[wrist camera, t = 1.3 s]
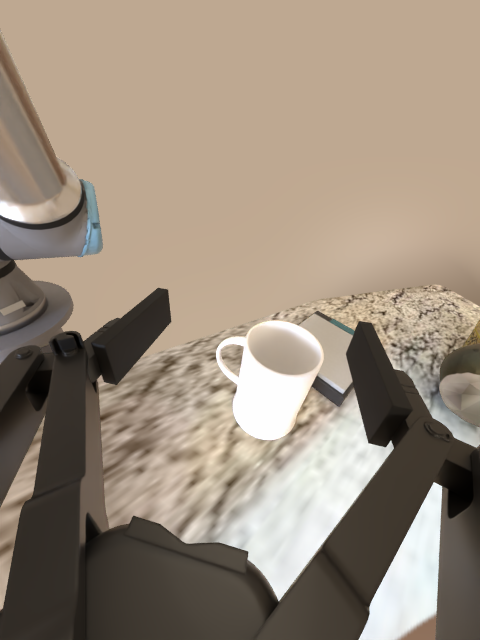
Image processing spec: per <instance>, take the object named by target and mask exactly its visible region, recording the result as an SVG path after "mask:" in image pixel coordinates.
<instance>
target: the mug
mask: <svg viewBox="0 0 480 640" xmlns="http://www.w3.org/2000/svg"><path fill="white" fill-rule="evenodd" d="M228 344H238V345H241V346H244V350H243V356H242V362H241V368H240V374H239V376H237V375H235V374H234V373H233V372H231V371H230V370H229V369H228V368H227V366H226V365H225V364H224V362H223V360H222V357H221V350H222V348H223V347H224V346H226V345H228ZM216 358H217V362H218V364H219V366H220V368H221V370H222V371H223V372H224V374H225V375H226V376H227V377H228V378H229V379H231V380H232V381H233V382H235V383H236V384H237V385H238V386H237V392H236V394H235V396H234V399H233V413H234V416H235V419H236V421H237V422H238V424H239V425H240V426H241V428H242V429H243V430H244V431H246V432H247V433H248V434H250V435H252V436H254V437H256V438H259V439H263V440H275V439H279V438H281V437H283V436H285V435H286V434H288V433H289V432H290V431H291V429H292V428H293V426H294V424H295V422H296V417H297V414H298V412H299V410H300V408H301V406H302V404H303V402H304V400H305V398H306V396H307V394H308V392H309V390H310V388H311V386H312V384H313V382H314V380H315V378H316V376H317V374H318V372H319V370H320V368H321V366H322V363H323V360H324V353H323V349H322V346H321V344H320V343H319V341H318V340H317V339H316V337H315V336H314V335H312V334H311V333H310V332H309V331H307V330H306V329H304V328H303V327H301V326H298V325H296V324H293V323H290V322H286V321H279V320H271V321H265V322H261V323H259V324H257V325H255V326H253V327H252V328H251V329H250V330H249V332H248V333H247V336H246V337H241V336H234V337H229V338H227V339H225V340H223V341H222V342H221V343H220V345H219V346H218V348H217V352H216Z"/></svg>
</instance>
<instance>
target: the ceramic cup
mask: <svg viewBox="0 0 480 640" xmlns="http://www.w3.org/2000/svg"><path fill="white" fill-rule="evenodd" d="M477 343H480V320H479V321H478V323H477V325H476V327H475V329H474V330H473V332H472V333H471V335H470V336H469V338H468V339H467V341H466V343H465V344H464V345H463V347H464V346H467V345H472V344H477Z"/></svg>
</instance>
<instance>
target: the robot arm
mask: <svg viewBox="0 0 480 640" xmlns="http://www.w3.org/2000/svg"><path fill="white" fill-rule="evenodd" d="M102 248H103V243H102V234H101V228H100V221H99V214H98V208H97V202H96V195H95V190H94V186H93V185H92V183H90V182H88V181H84V180H81V179H78V177H77V175H76V173H75V172H74V171H73V169H72V168H70V166H69V165H67V164H66V163H65V162H64V161H62V160H60V159H59V158H57V157H56V155H55V153H54V150H53V148H52V146H51V144H50V141H49V139H48V137H47V134H46V132H45V130H44V128H43V125H42V123H41V121H40V119H39V116H38V114H37V112H36V109H35V107H34V105H33V103H32V100H31V98H30V96H29V93H28V92H27V89H26V87H25V84H24V82H23V80H22V78H21V75H20V73H19V71H18V69H17V66H16V64H15V62H14V59H13V57H12V55H11V53H10V50H9V48H8V46H7V43H6V41H5V39H4V37H3V34H2V32H1V30H0V336H3V335H6V334H9V333H12V332H14V331H17V330H19V329H21V328H23V327H25V326H27V325H29V324H31V323H32V322H34V321H35V320H37V319H38V318H39V317H40V316H41V315H42V314H43V313H44V312H45V311H46V309H47V307H48V300H47V298H46V296H45V294H44V292H43V290H42V289H41V288H40V287H39V286H38V285H37V284H35V283H34V282H33V281H32V280H31V279H30V278H29V277H28V276H27V275H25V273H24V272H23V271H21V270H20V269H19V268H18V267H17V265H16V263H15V261H14V260H23V259H39V258H54V257H69V256H78V257H83V256H84V255H92V254H98V253H99V252H100V251H101V250H102ZM170 322H171V315H170V305H169V295H168V290H167V289H161V288H157V289H156V290H155V291H154V292H153V293H151V294H150V295H149V296H148V297H146V298H145V299H144V300H143V301H141V302H140V303H139V304H138V305H137V306H135V307H134V308H133V309H132V310H131V311H129V312H128V313H127V314H125V315H124V316H123V317H122V318H121V319H120V318H116V319H114V320H111V321H109V322H108V323H107V324H105V325H104V326H103V327H102V328H100V329H99V330H98V331H97V332H95V333H94V334H92V335H91V336H90V337H89V338H87V339H86V340H85V341H83V340H82V338H81V335H80V333H78V332H76V331H67V332H63V333H59V334H57V335H55V336H53V337H52V338H51V339H50V340H49V344H50V346H51V349H52V351H53V353H42V351H41V349H40V347H39V346H36V345H29V346H23V347H20V348H18V349H16V350H14V351H12V352H11V353H10V354H9V355H8V356H7V357H6V358H5V359H4V360H3V362H2V363H1V364H0V507H1V505H2V503H3V501H4V499H5V497H6V495H7V493H8V490H9V488H10V486H11V484H12V482H13V480H14V478H15V476H16V474H17V472H18V470H19V468H20V465H21V463H22V461H23V459H24V457H25V455H26V453H27V451H28V449H29V447H30V445H31V443H32V441H33V438H34V436H35V434H36V432H37V430H38V428H39V426H40V424H41V422H42V420H43V418H44V416H45V421H44V427H43V434H42V440H41V447H40V453H39V460H38V466H37V473H36V480H35V486H34V492H33V496H32V498H31V499H29V500H28V501H26V502H25V503H24V505H23V507H22V510H21V513H20V518H19V524H18V529H17V535H16V540H15V546H14V551H13V557H12V562H11V568H10V573H9V579H8V584H7V590H6V595H5V601H4V606H3V609H2V610H1V611H0V640H358V639H359V637H360V635H361V633H362V631H363V629H364V627H365V625H366V623H367V620H368V617H369V614H370V613H369V606H370V603H371V601H372V599H373V597H374V595H375V593H376V591H377V589H378V587H379V586H380V584H381V582H382V580H383V578H384V576H385V574H386V572H387V570H388V568H389V566H390V565H391V563H392V561H393V559H394V557H395V555H396V553H397V551H398V549H399V547H400V545H401V544H402V542H403V540H404V538H405V536H406V534H407V532H408V530H409V528H410V526H411V524H412V523H413V521H414V519H415V517H416V515H417V513H418V511H419V509H420V507H421V505H422V503H423V502H424V500H425V498H426V496H427V494H428V492H429V490H430V488H431V486H432V484H433V482H435V483H437V484H439V485H441V486H442V506H441V529H440V551H439V573H438V596H437V618H436V640H480V445H479V446H478V447H477V448H475V447H473V446H471V445H469V444H466V443H464V442H462V441H460V440H457V439H455V438H454V437H453V435H452V433H451V432H450V431H449V429H448V428H447V427H446V426H444V425H443V424H442V423H440V422H439V421H437V420H435V419H433V418H432V416H431V414H430V413H429V411H428V409H427V407H426V405H425V403H424V401H423V400H422V398H421V396H420V395H419V392H418V390H417V389H416V388H415V385H414V383H413V381H412V379H411V378H410V377H409V376H408V375H407V374H406V373H405V372H404V371H400V370H395V369H393V367H392V365H391V362H390V360H389V358H388V356H387V354H386V352H385V350H384V348H383V346H382V344H381V342H380V340H379V338H378V335H377V333H376V331H375V329H374V327H373V325H372V323H368V322H362V321H359V322H358V325H357V327H356V330H355V332H354V335H353V337H352V339H351V342H350V344H349V347H348V349H347V352H346V357H347V361H348V365H349V369H350V373H351V377H352V381H353V385H354V389H355V392H356V396H357V400H358V404H359V408H360V412H361V416H362V420H363V424H364V428H365V431H366V435H367V439H368V443H370V444H374V445H378V446H383V447H386V446H387V445H388V443H389V442H390V441H392V444H393V446H394V449H393V451H392V452H391V453H390V455H389V456H388V457H387V458H386V460H385V461H384V463H383V464H382V465H381V467H380V468H379V469H378V471H377V472H376V473H375V475H374V476H373V477H372V479H371V480H370V481H369V483H368V484H367V485H366V487H365V488H364V489H363V491H362V492H361V493H360V495H359V496H358V497H357V499H356V500H355V501H354V503H353V504H352V505H351V507H350V508H349V509H348V511H347V512H346V513H345V515H344V516H343V517H342V519H341V520H340V521H339V523H338V524H337V525H336V527H335V528H334V529H333V531H332V532H331V533H330V535H329V536H328V537H327V539H326V540H325V541H324V543H323V544H322V545H321V547H320V548H319V549H318V551H317V552H316V553H315V555H314V556H313V557H312V559H311V560H310V561H309V563H308V564H307V565H306V566H305V568H304V569H303V570H302V572H301V573H300V574H299V576H298V577H297V578H296V580H295V581H294V582H293V584H292V585H291V586H290V588H289V589H288V590H287V592H286V593H285V594H284V596H283V597H282V598H281V600H280V601H279V602H278V599H277V597H276V595H275V593H274V591H273V589H272V587H271V585H270V584H269V582H268V581H267V579H266V578H265V576H264V575H263V574H262V573H261V571H260V570H259V569H258V568H257V567H256V566H255V565H254V564H252V563H251V562H250V561H248V560H247V558H248V551H244V550H241V549H238V548H235V547H232V546H228V545H225V544H222V543H219V542H218V543H195V544H186V543H184V542H182V541H181V540H180V539H178V538H177V537H176V536H175V535H173V534H172V533H171V532H169V531H168V530H167V529H166V528H164V527H163V526H162V525H160V524H158V523H155V522H152V521H148V520H145V519H142V518H139V517H136V516H133V517H132V520H131V522H130V524H125V525H120V526H117V527H114V528H111V529H109V524H108V519H107V515H106V510H105V497H104V479H103V461H102V443H101V425H100V407H99V389H98V382H97V379H98V378H99V377H100V375H101V374H102V377H103V380H104V382H106V383H111V384H115V385H117V384H118V383H119V382H120V381H121V379H122V378H123V377H124V376H125V375H126V374H127V372H128V371H129V370H130V369H131V368H132V367H133V366H134V364H135V363H136V362H137V361H138V360H139V359H140V357H141V356H142V355H143V354H144V353H145V351H146V350H147V349H148V348H149V347H150V346H151V345H152V343H153V342H154V341H155V340H156V339H157V338H158V336H159V335H160V334H161V333H162V332H163V331H164V329H165V328H166V327H167V326H168V325H169V324H170ZM45 413H46V414H45Z"/></svg>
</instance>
